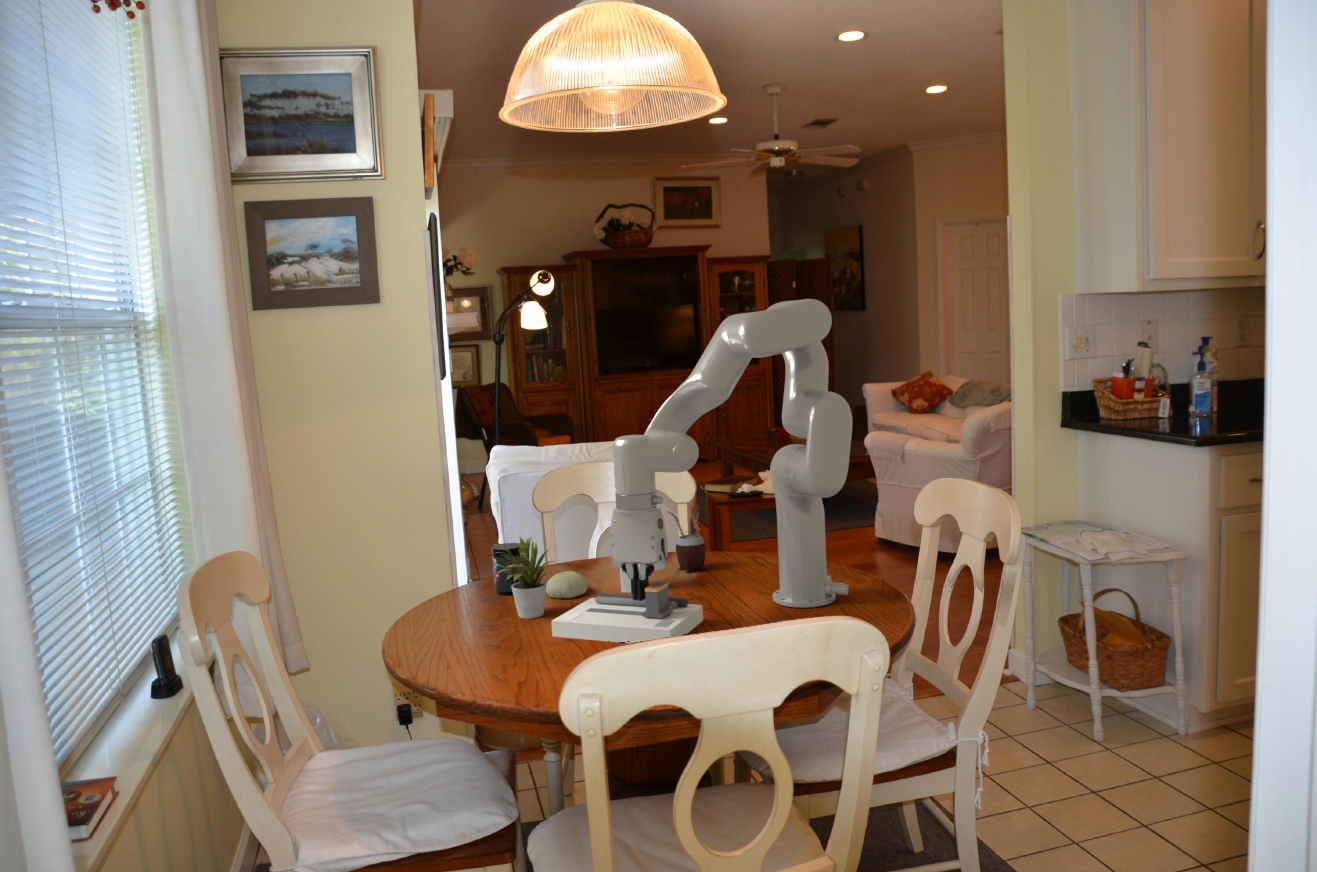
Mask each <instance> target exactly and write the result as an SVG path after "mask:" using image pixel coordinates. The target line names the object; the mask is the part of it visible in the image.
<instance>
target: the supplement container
mask: <svg viewBox="0 0 1317 872" xmlns="http://www.w3.org/2000/svg"><path fill="white" fill-rule="evenodd" d="M519 544H520V542H519V543H518V542H507V543H506V542H504V543H498V544H496V545H492V546H491V558H492V566H493V567H492V569H493V583H494V592H495V594H497V595H499V594H500V595H499V596H513V591H512V587H511V586H512V585H513V584H515V583H518V582H519V581H518V580H517V579H516V580H515V581H514V576H512V577H510V578H508V579H507V577H508V575H511V574H510V573H509V572H508V571H507V570H505V571H502V572H500V573H498V572H499V571H501V570H502V569H505V568H503V567H502V566H504V567H505V566H509V565H514V564H513V563H512V562H511V561H510V560H509V559H508V558H507V557H505V556H508V555H506V554H509V555H511V554H512V555H513V556H514V558H515V559H516V560H517V562H518V563H519V564H520V563H522V562H521V559H520V554H519ZM499 545H501V546H503V547H505V548H506V549H508V550H509V552H510V553H511V554H510V553H509V552H508V551H506V549H505V548H503V547H501V546H499ZM504 549H505V550H504ZM495 552H501V553H495ZM504 553H506V554H504ZM502 555H505V556H502ZM508 557H509V556H508ZM509 558H511V557H509ZM511 559H512V558H511ZM512 560H513V559H512ZM513 561H514V560H513ZM514 563H515V564H516V565H517V563H516V562H515V561H514ZM499 565H502V566H499ZM506 568H507V567H506ZM507 569H511V570H514V571H515V572H516V573H518V574H520V573H519V572H518V570H517V569H516V568H507ZM511 570H509V571H510V572H512V573H514V574H516V573H515V572H514V571H511ZM519 570H520V572H521V573H522V571H521V569H519ZM522 574H523V573H522Z"/></svg>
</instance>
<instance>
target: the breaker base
mask: <svg viewBox="0 0 1317 872" xmlns="http://www.w3.org/2000/svg"><path fill="white" fill-rule="evenodd" d="M669 606H673V611H672V612H671V613H669V614H668V615H667V616H665V617H664V618H652V617H643V612H644V611H646V598H645V599H644V600H642V601H639V600H633V594H624V593H623V594H621V593H620V594H619V593H607V592H599V593H597V595H596V597H590V598H588V599H587V600H585V601H583V602H581V603H580V604H578V605H576V606H575V607H573V608H571V609H569V610H568V611H566V612H564V613H562V614H561V615H559V616H558V617H555V618H554V619H552V620H551V621H550V622H551V623H550V624H551V633H552V635H551V636H552V637H554V638H565V639H574V640H576V639H578V640H585V641H586V640H588V641H600V642H608V641H609V642H611V643H619V642H625V643H624V644H631V643H634V642H640V641H647V640H653V639H660V638H665V637H676V636H680V635H684V634H686V635H687V634H689V633H690V632H691V631H693V629H695V628H696V627H697V626H698V625H700V624H701V623H702V622H703V621H704V614H703V613H704V612H703V611H704V610H703V604H692V603H691V604H689V600H688V599H687V598H685V597H684V598H683V597H682V598H680V597H669ZM627 641H630V642H627Z"/></svg>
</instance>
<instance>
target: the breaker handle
mask: <svg viewBox="0 0 1317 872" xmlns="http://www.w3.org/2000/svg"><path fill="white" fill-rule="evenodd" d="M645 593H646V611H644V612H643V617H652V618H664V617H665V616H667V615H668V614H669V613H671V612H672V611H673V606H669V598H670V595H669V593H670V592H669V581H654V582H653V583H652V584H649V586H648V587H646V588H645Z"/></svg>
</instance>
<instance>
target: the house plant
mask: <svg viewBox="0 0 1317 872" xmlns="http://www.w3.org/2000/svg"><path fill="white" fill-rule="evenodd" d="M532 538H533V536H531V537H530V536H529V537H527V538H526V540H524V539H523V537H522V536H519V543H520V544H519V554H520V559H521V562H522V563H520V564H519V563H518V562H517V560H516V559H515V558H514V556H513V555H512V554H511V553H510V552H509V550H508V549H506V548H505V547H503V546H501V545H499V546H501V547H503V548H505V549H506V551H508V552H509V553H510V554H511V555H509V554H506V553H504V554H506V555H508V556H509V557H511V558H512V559H513V560H514V561H515V562H516V563H517V565H516V564H515V563H514V561H513V560H512V559H511V558H509V557H508V556H505V555H502V556H505V557H507V558H508V559H509V560H510V561H511V562H512V563H513V564H514V565H509V566H505V567H504V566H502V565H499V566H502V567H503V568H505V569H502V570H501V571H499V572H498V573H500V572H502V571H505V570H507V571H508V572H509V573H510V574H511V575H508V577H507V579H508V578H510V577H512V576H514V581H515V580H516V579H517V580H518V581H519V582H518V583H515V584H513V585H512V586H511V587H512V591H513V595H512V596H513V598H514V604H515V607H516V612H517V615H518V617H519V618H520V619H535V618H539V617H541V616H544V614H545V606H546V605H545V604H546V594H547V593H546V585H547V582H546V581H544V580H542V579H543V578H544V577H545V576H546V575H547V574H553V571H550V572H545V573H544V571H545V568H544V566H546V565H547V564H548V563H553V562H555V563H556V561H554V560H550V561H546V562H544V563H543V564H542V562H543V560H544V558H545V556H546V555H547V553H548V552H549V551H550V550H551V548H550V547H548V549H547V550H546V551H545V552H543V553H542V555H541V556H540V557H539V558H538V560H537V556H538V551H539V549H538V542H535V543H534V540H533V539H532ZM494 545H497V544H495V543H494V544H492V546H494ZM505 549H504V550H505ZM552 549H554V547H552ZM495 553H501V552H495ZM541 564H542V565H541ZM506 567H507V568H516V569H517V570H518V572H519V573H520V574H518V573H516V572H515V571H514V570H511V569H507V568H506ZM519 569H521V571H522V573H523V574H522V573H521V572H520V570H519ZM509 570H511V571H514V572H515V573H516V574H514V573H512V572H510V571H509Z"/></svg>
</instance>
